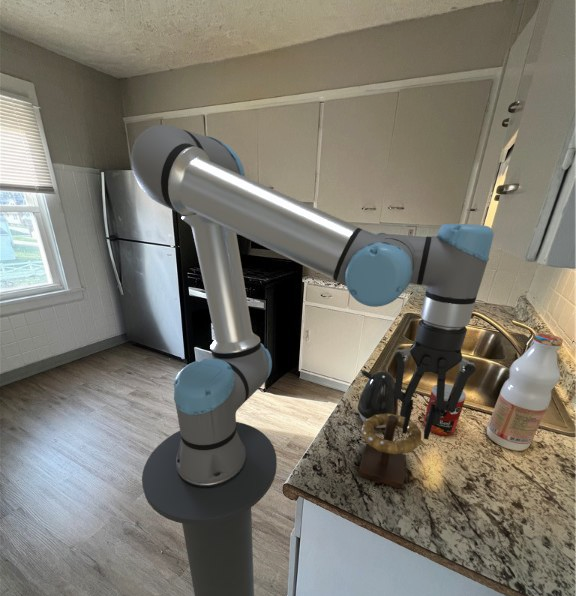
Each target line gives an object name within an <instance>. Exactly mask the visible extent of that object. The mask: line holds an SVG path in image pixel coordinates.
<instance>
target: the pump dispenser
mask: <svg viewBox="0 0 576 596" xmlns="http://www.w3.org/2000/svg"><path fill="white" fill-rule="evenodd" d="M361 375H363V376H364V377H366V378H367V379H368V381H367V382H366V383H365V385H364V387H363V389H362V391H361V393H360V396H359V400H358V403H357V411H358V413H359V417H360V419H361V421H362V422H363V423H364V421H365V420H367V419H369V418H370V417H372V416H374V415H379V414H394V415H399V414H398V413H399V400H396V399H394V390H395V382H396V379H395V378H394V377H393V374H391V373H390V372H388V371H385V370H378V371H376V372H375V373H374V374H372V373H370V372H368V371H367V370H365V369H364V370H362V372H361ZM383 428H386V425H381V426H377V427H376V428H375V429H383Z"/></svg>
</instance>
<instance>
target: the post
mask: <svg viewBox="0 0 576 596" xmlns="http://www.w3.org/2000/svg"><path fill="white" fill-rule="evenodd" d="M397 421H398V418H397V417H395V416H392V415H390V416H388V418H387V423H386V427H384V428H385V430H384V433H383V437H382V439H384V440H389V441H394V440H395V439H394V438H395V434H396V431H397V427H398V426H397ZM406 461H407V455H406V454H405V453H403V454H390V453H385V452H380V451H378V450H377V449H375V448H373V447H372V446H370V445H368V444H367V443H366V444H365V446H364V451H363V455H362V458H361V462H360V466H359V469H358V476H359V477H362V478H365V479H368V480H371V481H373V482H374V481H375V482H377V483H378V482H379V483H381V484H384V485H387V486H390V487H393V488H397V489H400V490H403V486H404V482H405V471H406Z"/></svg>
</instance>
